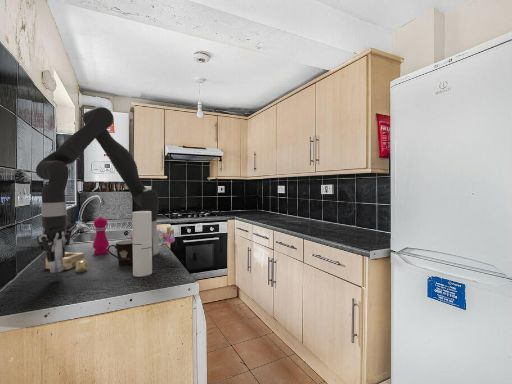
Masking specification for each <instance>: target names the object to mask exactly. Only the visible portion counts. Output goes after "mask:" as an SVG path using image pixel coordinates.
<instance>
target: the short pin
mask: <svg viewBox="0 0 512 384" xmlns="http://www.w3.org/2000/svg"><path fill="white" fill-rule="evenodd" d="M87 271H88V260H86V259H85V260H80V261H76V266H75V272H76V273H84V272H87Z"/></svg>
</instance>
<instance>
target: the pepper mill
mask: <svg viewBox="0 0 512 384" xmlns="http://www.w3.org/2000/svg"><path fill="white" fill-rule="evenodd" d="M107 224H108V221H107V219H106V218H104V217H103V215H102V214H99V215H98V218H96V219H95V220H94V221H93V226H94V227H95V228H94V231H95V232H96V233H95V237H94V241H93V243H92V248H93V249H94V252H93V254H94V255H96V256H101V255H106V254H108V253H109V252H108V247H109V246H110V244H109V240H108V238H107V236H106V235H107V234H106V230H107V227H106V226H107Z"/></svg>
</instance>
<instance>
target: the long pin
mask: <svg viewBox="0 0 512 384" xmlns="http://www.w3.org/2000/svg"><path fill="white" fill-rule="evenodd" d="M49 243H53V242H49ZM50 248H51V245H50ZM54 253H55V261H53V262H50V269H49V272H50V273H54V274H55V273H59V272H63V271H64V269H63V251H62V239H58V240H57V244H56V245H55V248H54Z"/></svg>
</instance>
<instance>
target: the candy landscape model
mask: <svg viewBox="0 0 512 384" xmlns="http://www.w3.org/2000/svg"><path fill="white" fill-rule="evenodd" d="M157 235H158V236H159V247H160V246H162V245H169V244H172V243H174V242H175V241H176V238H175V229H172V228H171V227H170V226H169V227H166V231H164V230H163V229H161V228H157ZM130 240H133V235H132V236H131V237H130Z"/></svg>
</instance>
